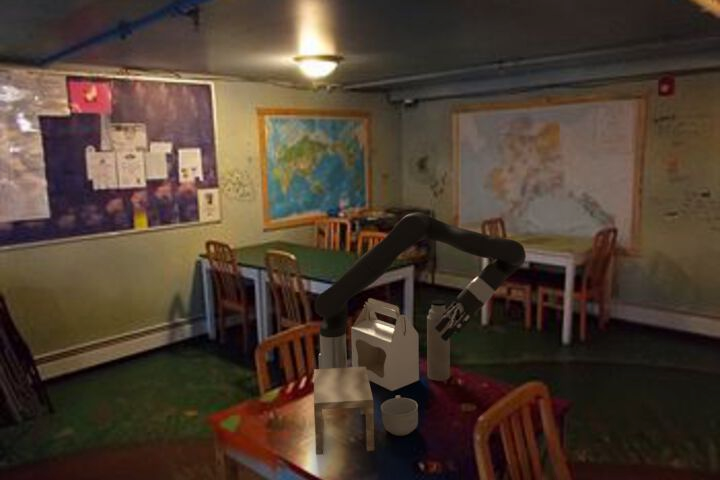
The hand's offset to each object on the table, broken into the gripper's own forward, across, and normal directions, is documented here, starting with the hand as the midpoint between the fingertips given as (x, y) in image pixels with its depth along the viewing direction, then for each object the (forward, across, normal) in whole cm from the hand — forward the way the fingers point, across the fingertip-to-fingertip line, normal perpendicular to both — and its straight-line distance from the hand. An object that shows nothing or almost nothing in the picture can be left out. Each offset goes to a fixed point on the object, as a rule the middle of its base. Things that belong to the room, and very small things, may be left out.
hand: (439, 334), depth 169 cm
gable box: (+28, -31, +8) cm, 42 cm away
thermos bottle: (+15, -28, +22) cm, 38 cm away
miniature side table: (+40, +7, -5) cm, 40 cm away
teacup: (+28, +7, +8) cm, 30 cm away
